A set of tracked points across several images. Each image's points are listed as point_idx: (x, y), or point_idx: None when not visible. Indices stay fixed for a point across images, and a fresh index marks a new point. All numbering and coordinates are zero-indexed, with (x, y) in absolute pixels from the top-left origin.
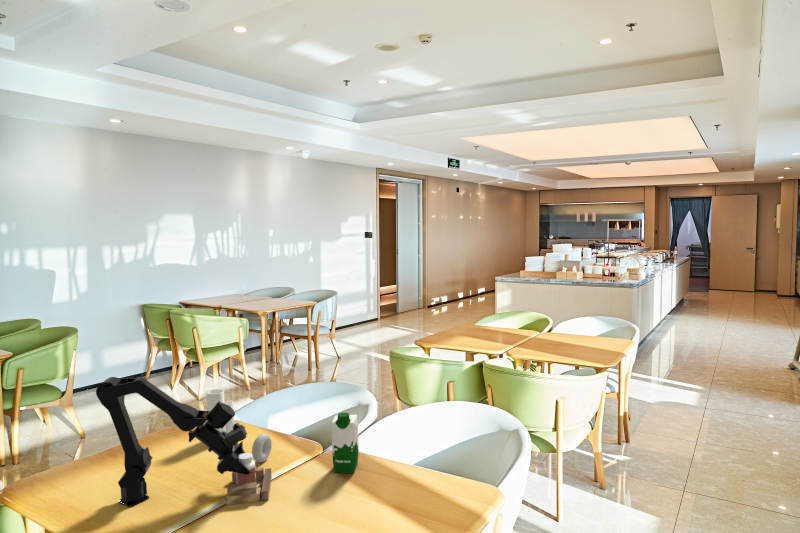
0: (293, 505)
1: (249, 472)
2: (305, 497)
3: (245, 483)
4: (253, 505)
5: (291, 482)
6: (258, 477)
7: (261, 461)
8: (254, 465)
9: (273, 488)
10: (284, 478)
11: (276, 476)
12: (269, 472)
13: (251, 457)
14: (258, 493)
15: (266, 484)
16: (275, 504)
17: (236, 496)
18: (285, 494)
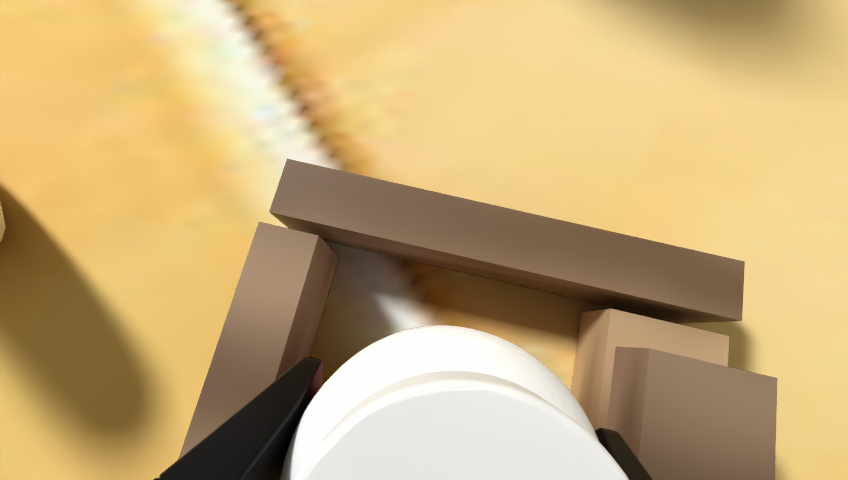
0: (801, 132)
1: (615, 436)
2: (714, 45)
3: None
4: None
5: (467, 79)
6: (322, 291)
7: (3, 217)
8: (517, 346)
9: None
10: (382, 109)
11: (321, 155)
12: (371, 188)
13: (570, 418)
14: (724, 347)
15: (610, 253)
16: (758, 237)
17: None
18: (632, 149)
